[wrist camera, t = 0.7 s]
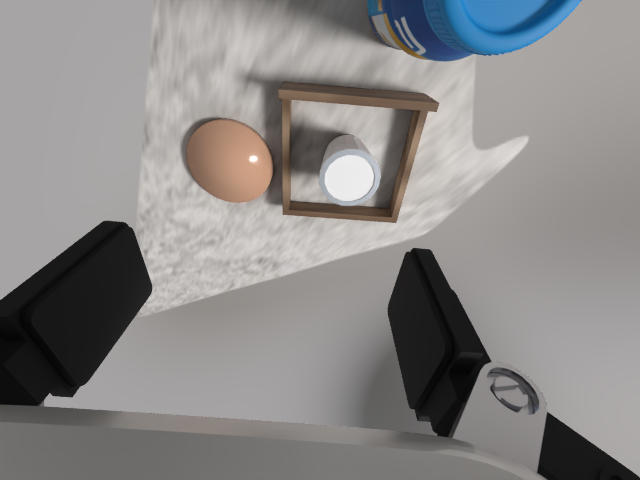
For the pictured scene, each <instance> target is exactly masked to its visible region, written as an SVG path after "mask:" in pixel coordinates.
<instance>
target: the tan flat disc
mask: <svg viewBox="0 0 640 480" xmlns="http://www.w3.org/2000/svg"><path fill="white" fill-rule="evenodd" d="M186 154H187V163H188V166H189V169H190V171H191V173H192V175H193V177H194V178H195V180H196V181H197V182H198V184H199V185H200V186H201V187H202V188H203V189H204V190H206V191H207V192H208V193H210V194H211V195H213V196H215V197H217V198H219V199H222V200H224V201H228V202H238V203H240V202H247V201H251V200H253V199H255V198H257V197H259V196H260V195H261V194H262V193H263V192H264V191H265V190H266V189H267V188H268V186H269V184H270V181H271V178H272V175H273V167H274V165H273V158H272V154H271V152H270V149H269V147H268V145H267V144H266V142H265V141H264V139H263V138H262V137H261V136H260V135H259V134H258V133H257V132H256V131H255V130H253V129H252V128H251V127H249V126H247V125H246V124H244V123H241V122H239V121H235V120H231V119H216V120H212V121H209V122H207V123H205V124H203V125H202V126H201V127H199V128H198V129H197V130H196V131H195V132H194V133H193V134H192V136H191V137H190V140H189V142H188V145H187V151H186Z"/></svg>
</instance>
